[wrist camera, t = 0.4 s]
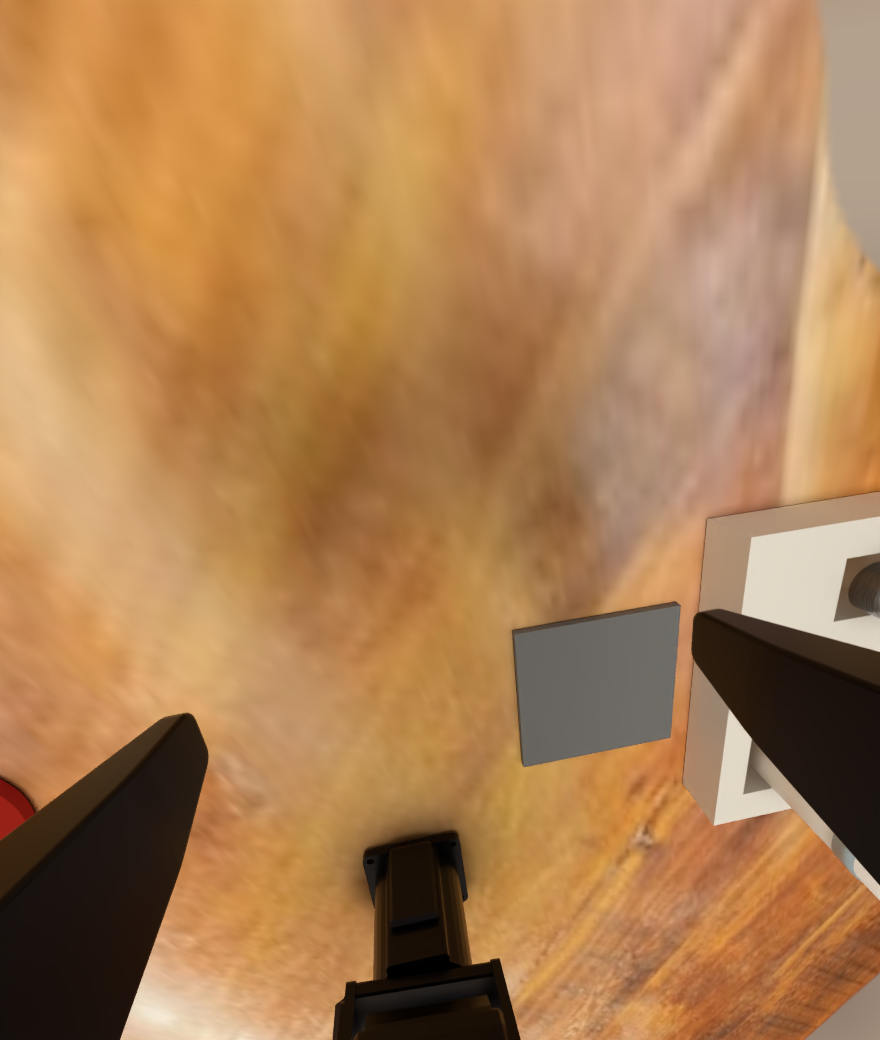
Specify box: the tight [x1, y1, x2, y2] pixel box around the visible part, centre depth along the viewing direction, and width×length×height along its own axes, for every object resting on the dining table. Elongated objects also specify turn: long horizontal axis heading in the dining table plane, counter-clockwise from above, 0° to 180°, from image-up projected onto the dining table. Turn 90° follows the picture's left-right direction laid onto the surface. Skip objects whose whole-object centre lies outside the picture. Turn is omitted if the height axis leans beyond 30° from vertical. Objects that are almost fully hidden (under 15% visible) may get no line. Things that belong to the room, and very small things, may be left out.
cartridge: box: [748, 740, 880, 900], centre depth 24 cm, size 5×5×10 cm
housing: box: [683, 492, 880, 825], centre depth 26 cm, size 20×12×3 cm, turn 7°
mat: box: [513, 602, 681, 767], centre depth 26 cm, size 10×10×1 cm
